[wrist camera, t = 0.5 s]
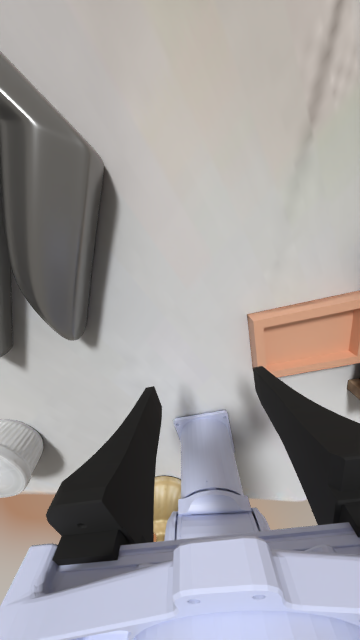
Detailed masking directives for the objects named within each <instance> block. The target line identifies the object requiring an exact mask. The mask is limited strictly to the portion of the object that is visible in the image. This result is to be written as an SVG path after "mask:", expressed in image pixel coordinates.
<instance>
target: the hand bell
mask: <svg viewBox="0 0 360 640" xmlns="http://www.w3.org/2000/svg"><path fill="white" fill-rule="evenodd" d="M179 499H181V480H180V479H177V478H175V477H170V476H158V477H155V485H154V530H153V532H154V533H155V534H156V536H157V541H156V542H159V541H164V540H165V530H166V524H167V521H168V519H169V517H170V516H171V513H172V512H173V511H178V500H179Z"/></svg>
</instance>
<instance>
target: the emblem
mask: <svg viewBox="0 0 360 640" xmlns="http://www.w3.org/2000/svg"><path fill="white" fill-rule="evenodd" d="M103 174H104V163H103V161H102V159H101V157H100V156H99V155H98V153H97V152H96V151H95V150H94V149H93V148H92V147H91V145H90V144H89V143H88V142H87V141H86V140H85V139H84V138H83V137H82V136H81V135H80V134H79V133H78V132H77V131H76V130H75V128H74V127H73V126H72V125H71V124H70V123H69V122H68V121H67V120H66V119H65V118H64V117H63V116H62V115H61V114H60V113H59V112H58V111H57V110H56V109H55V108H54V107H53V106H52V105H51V103H50V102H49V101H48V100H47V99H46V98H45V97H44V96H43V95H42V94H41V93H40V92H39V91H38V90H37V89H36V88H35V87H34V86H33V85H32V84H31V83H30V82H29V81H28V80H27V79H26V77H25V76H24V75H23V74H22V73H21V72H20V71H19V70H18V69H17V68H16V67H15V66H14V65H13V64H12V63H11V62H10V61H9V60H8V59H7V58H6V57H5V56H4V55H3V54H2V52H1V51H0V357H2V356H3V355H5V354H6V353H7V352H8V351H9V350H10V349H11V348H12V301H11V268H12V272H13V275H14V277H15V280H16V282H17V284H18V286H19V288H20V290H21V292H22V293H23V295H24V296H25V298H26V299H27V301H28V302H29V303H30V305H31V306H32V307H33V309H34V310H35V311H36V312H37V313H38V315H39V316H40V317H41V318H42V319H43V320H44V321H45V322H46V323H47V324H48V325H49V326H50V327H51V328H52V329H53V330H54V331H56V332H57V333H58V334H59V335H61V336H62V337H64V338H65V339H68V340H77V339H79V338H80V337H81V336H82V334H83V332H84V330H85V327H86V321H87V312H88V302H89V291H90V281H91V272H92V263H93V254H94V246H95V238H96V229H97V222H98V214H99V206H100V198H101V190H102V183H103Z"/></svg>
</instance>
